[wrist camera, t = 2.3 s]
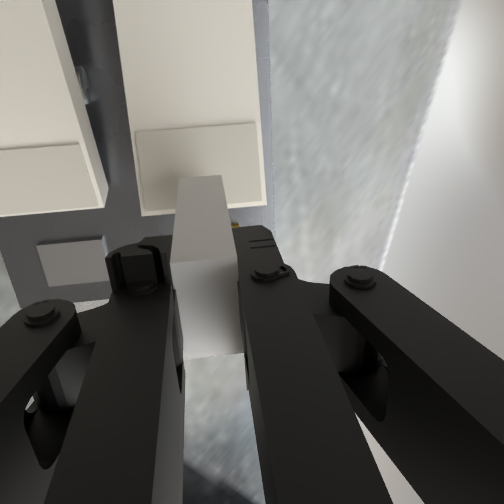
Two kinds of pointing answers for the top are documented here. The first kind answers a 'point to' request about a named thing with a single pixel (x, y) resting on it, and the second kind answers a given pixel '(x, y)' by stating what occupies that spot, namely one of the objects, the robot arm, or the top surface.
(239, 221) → the switch unit
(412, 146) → the top surface
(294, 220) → the top surface
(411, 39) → the top surface
